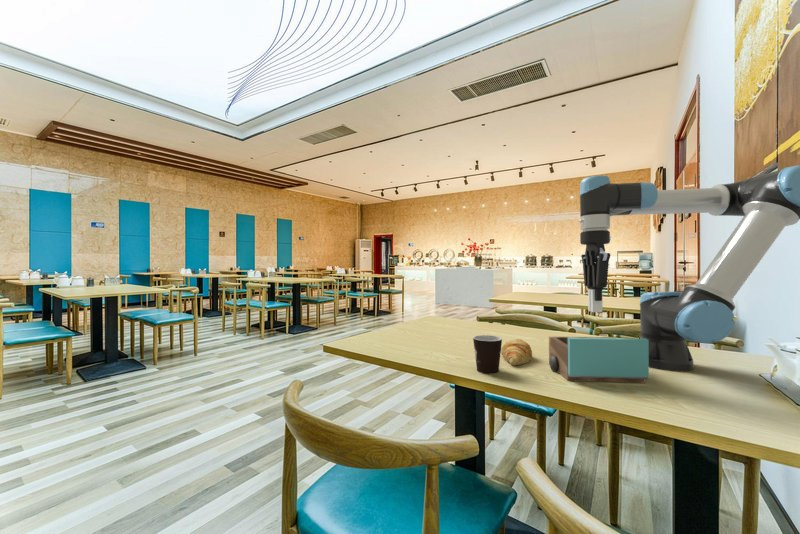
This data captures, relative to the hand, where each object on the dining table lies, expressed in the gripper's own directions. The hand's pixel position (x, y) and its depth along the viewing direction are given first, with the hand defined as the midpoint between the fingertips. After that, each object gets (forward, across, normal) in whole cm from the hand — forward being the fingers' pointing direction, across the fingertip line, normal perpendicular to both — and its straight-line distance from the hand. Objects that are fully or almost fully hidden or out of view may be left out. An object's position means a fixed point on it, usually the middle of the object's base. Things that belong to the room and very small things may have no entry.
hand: (595, 311), depth 101 cm
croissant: (+19, -16, -19) cm, 31 cm away
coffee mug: (+19, -3, -30) cm, 35 cm away
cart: (+18, -2, 0) cm, 19 cm away
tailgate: (+16, +7, 0) cm, 18 cm away
